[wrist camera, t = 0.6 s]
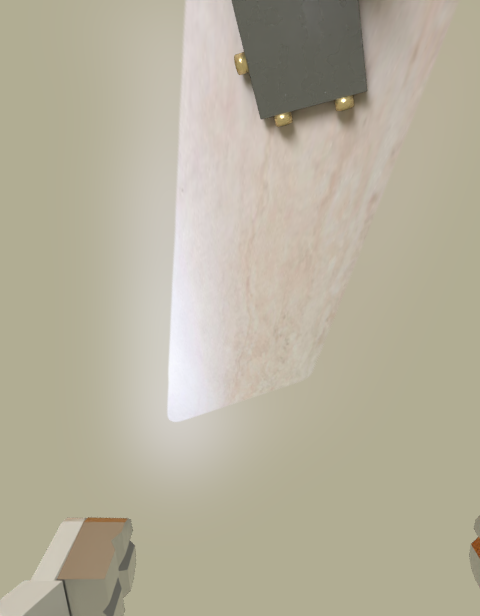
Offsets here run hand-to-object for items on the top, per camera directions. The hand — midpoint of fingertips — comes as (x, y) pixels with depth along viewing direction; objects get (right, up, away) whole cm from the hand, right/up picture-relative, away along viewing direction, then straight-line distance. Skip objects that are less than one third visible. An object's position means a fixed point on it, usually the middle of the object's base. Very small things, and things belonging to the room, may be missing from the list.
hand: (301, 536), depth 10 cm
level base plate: (+5, +34, +34) cm, 49 cm away
